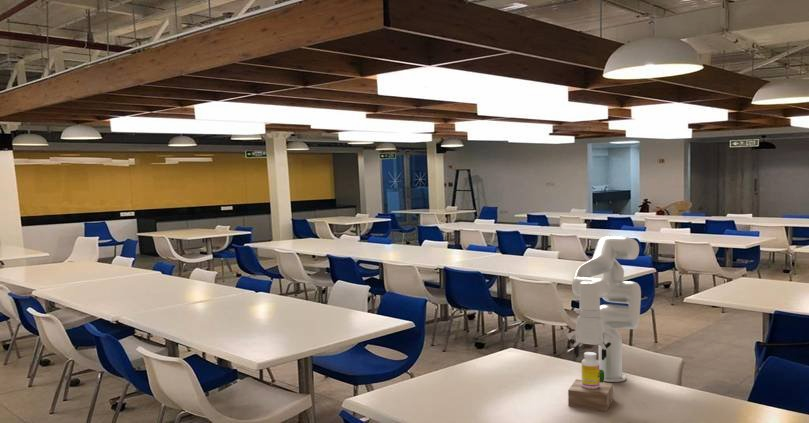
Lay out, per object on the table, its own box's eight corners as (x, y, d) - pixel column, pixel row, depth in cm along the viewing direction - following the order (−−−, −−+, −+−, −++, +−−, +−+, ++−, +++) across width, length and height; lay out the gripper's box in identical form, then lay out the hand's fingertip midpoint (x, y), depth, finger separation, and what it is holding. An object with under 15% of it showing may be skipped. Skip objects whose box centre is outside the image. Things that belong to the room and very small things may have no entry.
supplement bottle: (600, 389, 233) (600, 356, 233) (582, 389, 235) (582, 355, 234) (598, 384, 240) (598, 351, 239) (580, 383, 241) (580, 350, 241)
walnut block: (576, 394, 247) (576, 379, 246) (612, 398, 240) (612, 383, 240) (568, 405, 234) (568, 390, 234) (606, 411, 228) (606, 395, 228)
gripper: (564, 313, 236) (565, 358, 237) (611, 317, 228) (612, 362, 229) (569, 310, 243) (569, 353, 244) (615, 313, 235) (615, 357, 236)
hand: (590, 357), depth 237 cm, fingers open, 9 cm apart
